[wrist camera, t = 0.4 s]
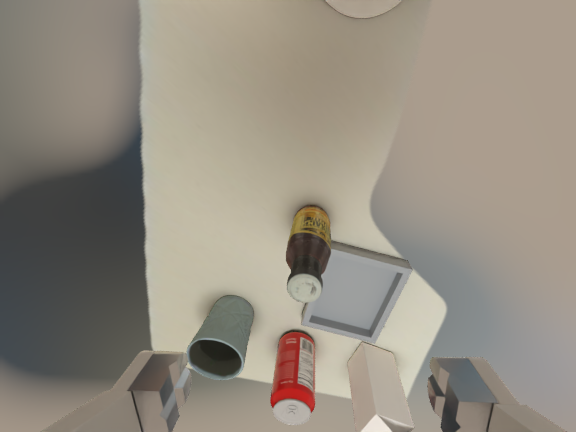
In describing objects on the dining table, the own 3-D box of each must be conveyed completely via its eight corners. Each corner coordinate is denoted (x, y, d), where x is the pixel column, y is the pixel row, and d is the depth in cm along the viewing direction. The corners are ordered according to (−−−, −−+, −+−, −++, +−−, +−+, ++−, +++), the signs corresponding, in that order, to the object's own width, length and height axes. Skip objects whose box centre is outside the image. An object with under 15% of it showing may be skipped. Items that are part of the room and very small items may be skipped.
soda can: (317, 331, 60) (318, 402, 46) (312, 357, 63) (311, 431, 50) (280, 326, 61) (270, 394, 47) (277, 352, 64) (267, 424, 50)
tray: (327, 239, 51) (328, 247, 49) (407, 260, 52) (412, 269, 49) (301, 314, 59) (301, 324, 56) (372, 331, 59) (374, 343, 56)
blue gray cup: (265, 320, 60) (254, 371, 49) (226, 335, 63) (208, 387, 52) (239, 285, 57) (221, 330, 46) (199, 302, 60) (174, 349, 49)
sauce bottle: (336, 218, 50) (349, 290, 31) (313, 242, 52) (312, 322, 34) (307, 195, 48) (303, 256, 30) (285, 220, 51) (268, 292, 32)
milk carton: (347, 362, 63) (359, 464, 46) (362, 340, 60) (381, 441, 43) (376, 372, 64) (399, 478, 46) (392, 352, 61) (423, 456, 43)
